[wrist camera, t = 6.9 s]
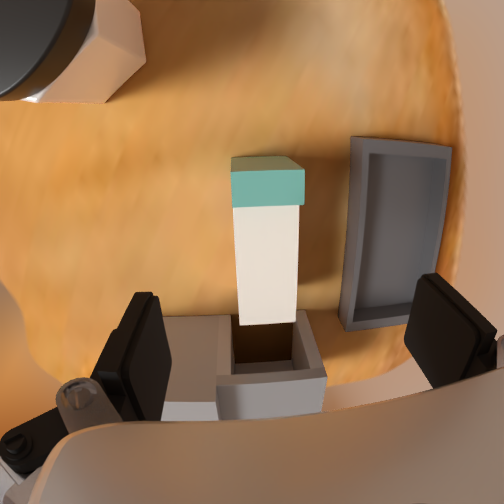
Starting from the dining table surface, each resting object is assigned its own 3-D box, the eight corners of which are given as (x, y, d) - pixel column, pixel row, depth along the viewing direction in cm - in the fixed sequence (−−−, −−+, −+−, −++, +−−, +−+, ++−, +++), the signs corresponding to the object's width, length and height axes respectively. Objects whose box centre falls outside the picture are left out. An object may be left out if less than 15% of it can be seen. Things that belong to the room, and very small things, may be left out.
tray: (350, 136, 22) (363, 138, 20) (435, 143, 23) (452, 147, 20) (337, 316, 29) (345, 332, 27) (411, 307, 29) (422, 321, 27)
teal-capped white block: (231, 157, 23) (230, 171, 17) (286, 155, 23) (304, 169, 17) (238, 290, 27) (240, 338, 21) (285, 287, 27) (299, 334, 21)
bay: (133, 317, 28) (101, 397, 19) (304, 309, 28) (332, 392, 19) (148, 370, 30) (129, 448, 21) (300, 364, 31) (320, 444, 22)
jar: (167, 14, 18) (115, -60, 7) (128, 112, 21) (41, 114, 10) (71, 1, 16) (-16, -44, 5) (37, 91, 19) (-68, 95, 8)
